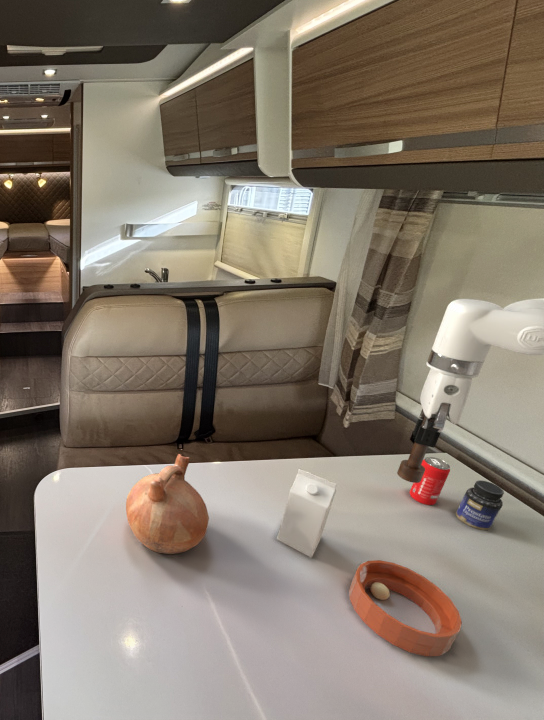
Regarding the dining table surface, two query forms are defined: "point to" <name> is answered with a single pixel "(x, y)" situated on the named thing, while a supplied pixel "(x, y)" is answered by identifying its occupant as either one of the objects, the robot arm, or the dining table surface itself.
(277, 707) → the dining table surface
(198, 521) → the jug
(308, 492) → the milk carton
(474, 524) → the pill bottle
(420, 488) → the beverage can
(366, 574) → the ring
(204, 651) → the dining table surface
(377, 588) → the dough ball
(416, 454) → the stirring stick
